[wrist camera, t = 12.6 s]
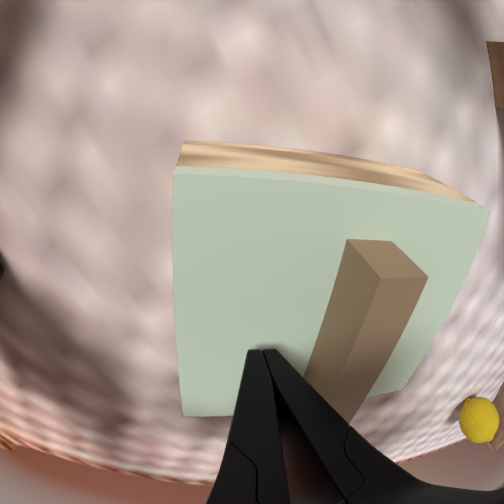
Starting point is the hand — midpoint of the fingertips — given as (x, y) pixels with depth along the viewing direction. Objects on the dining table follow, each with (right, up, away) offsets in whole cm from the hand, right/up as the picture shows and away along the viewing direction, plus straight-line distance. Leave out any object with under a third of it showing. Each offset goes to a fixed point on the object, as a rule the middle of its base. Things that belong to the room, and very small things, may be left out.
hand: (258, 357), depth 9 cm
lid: (+3, +1, +2) cm, 4 cm away
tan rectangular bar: (+15, +14, +2) cm, 21 cm away
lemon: (+29, -17, +22) cm, 40 cm away
